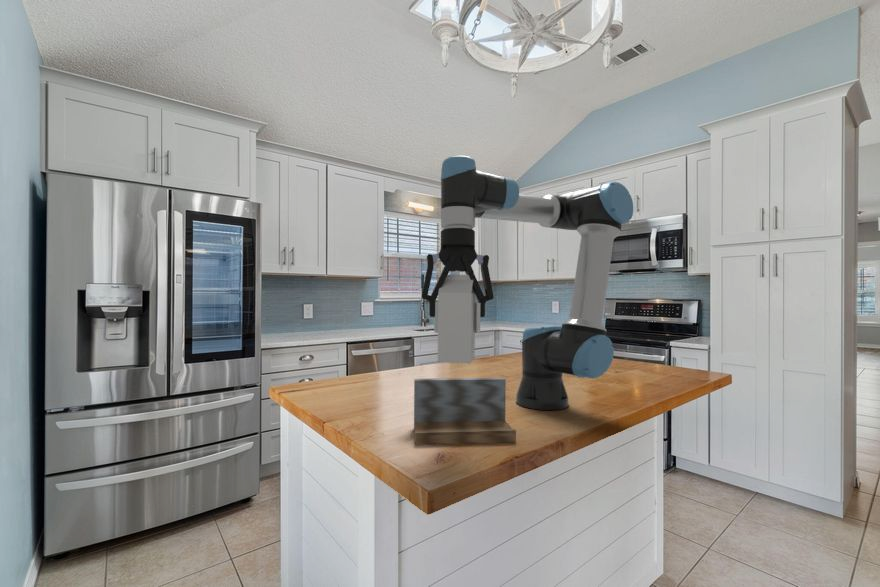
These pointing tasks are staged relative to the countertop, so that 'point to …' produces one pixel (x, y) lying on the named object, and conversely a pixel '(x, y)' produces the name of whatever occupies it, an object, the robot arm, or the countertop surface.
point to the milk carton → (456, 320)
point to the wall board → (461, 411)
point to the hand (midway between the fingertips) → (456, 332)
